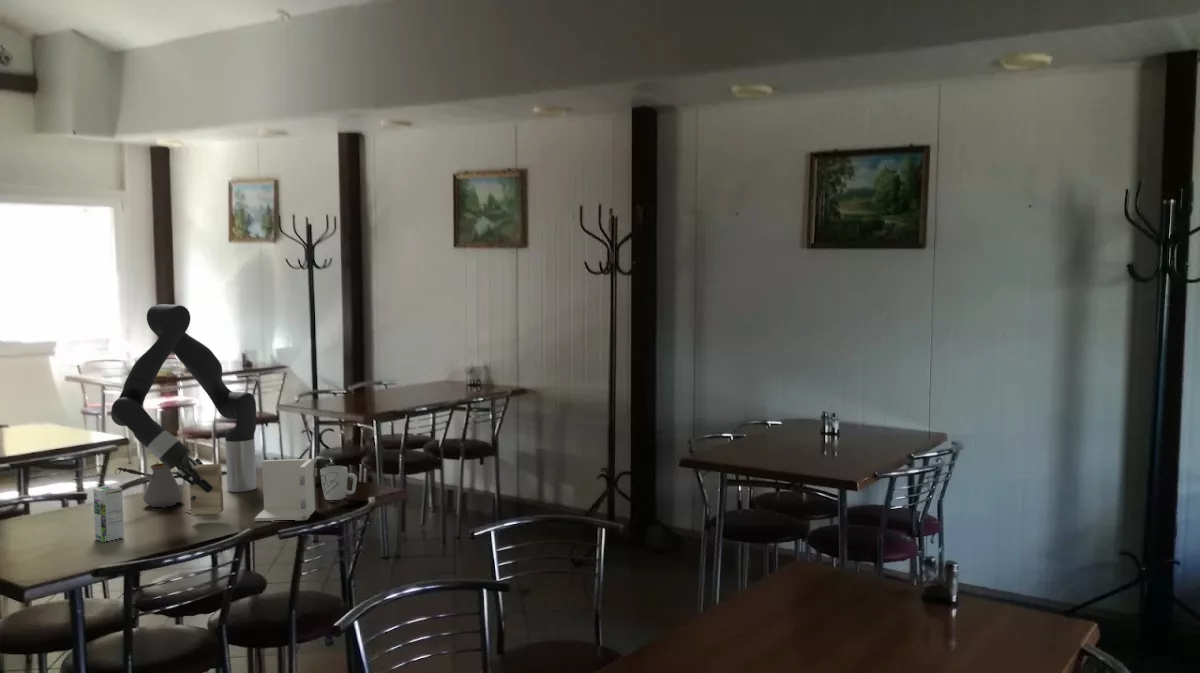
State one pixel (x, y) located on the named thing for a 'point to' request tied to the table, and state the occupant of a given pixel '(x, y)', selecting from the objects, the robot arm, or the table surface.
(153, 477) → the coffee pot
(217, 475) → the door
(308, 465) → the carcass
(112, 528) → the syrup box
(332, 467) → the mug
